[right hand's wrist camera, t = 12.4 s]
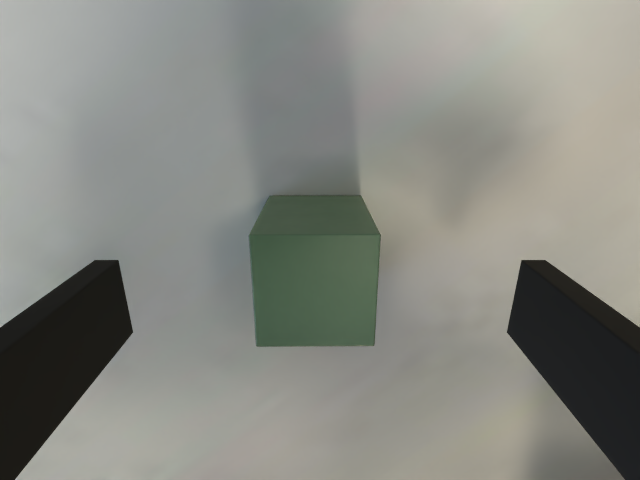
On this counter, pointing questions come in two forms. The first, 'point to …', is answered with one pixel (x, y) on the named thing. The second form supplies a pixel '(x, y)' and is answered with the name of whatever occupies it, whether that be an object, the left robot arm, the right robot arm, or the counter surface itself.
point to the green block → (314, 272)
